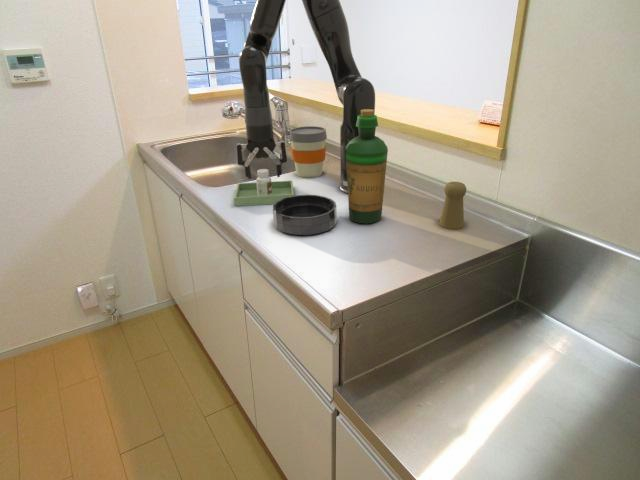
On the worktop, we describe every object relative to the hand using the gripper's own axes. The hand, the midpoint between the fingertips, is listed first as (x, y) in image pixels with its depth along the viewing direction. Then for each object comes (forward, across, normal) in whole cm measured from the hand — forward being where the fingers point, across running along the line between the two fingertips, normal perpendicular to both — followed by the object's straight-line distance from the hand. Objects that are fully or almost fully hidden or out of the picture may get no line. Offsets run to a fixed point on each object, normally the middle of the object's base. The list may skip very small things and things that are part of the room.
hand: (264, 177), depth 134 cm
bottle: (+6, -27, +21) cm, 35 cm away
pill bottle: (+6, 0, 0) cm, 6 cm away
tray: (+6, 0, 0) cm, 6 cm away
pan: (+6, -11, +22) cm, 25 cm away
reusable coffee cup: (+6, -14, -21) cm, 26 cm away
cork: (+7, -48, +28) cm, 56 cm away
